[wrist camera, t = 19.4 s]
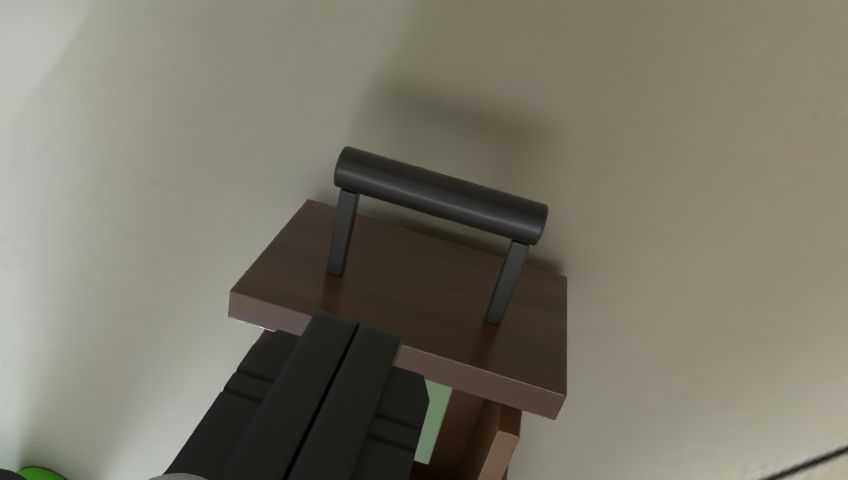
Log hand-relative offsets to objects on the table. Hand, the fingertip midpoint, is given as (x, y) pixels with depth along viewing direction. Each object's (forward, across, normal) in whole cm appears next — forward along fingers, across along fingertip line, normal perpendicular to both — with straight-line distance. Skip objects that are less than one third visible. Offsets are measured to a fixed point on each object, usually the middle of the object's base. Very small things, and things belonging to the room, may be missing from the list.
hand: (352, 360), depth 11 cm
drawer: (+15, 0, +11) cm, 19 cm away
